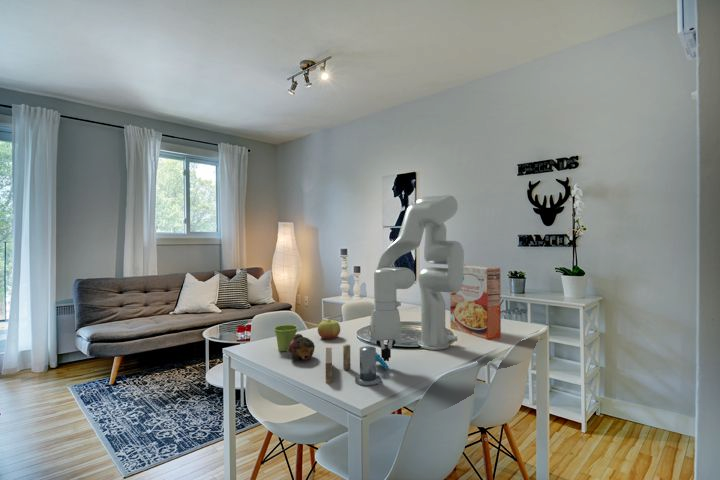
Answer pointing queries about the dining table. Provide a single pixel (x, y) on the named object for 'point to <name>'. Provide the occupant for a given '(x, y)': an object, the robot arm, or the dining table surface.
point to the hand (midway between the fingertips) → (385, 359)
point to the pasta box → (477, 303)
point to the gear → (381, 361)
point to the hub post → (367, 367)
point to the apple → (329, 329)
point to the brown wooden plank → (328, 365)
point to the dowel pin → (346, 357)
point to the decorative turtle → (301, 347)
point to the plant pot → (285, 336)
